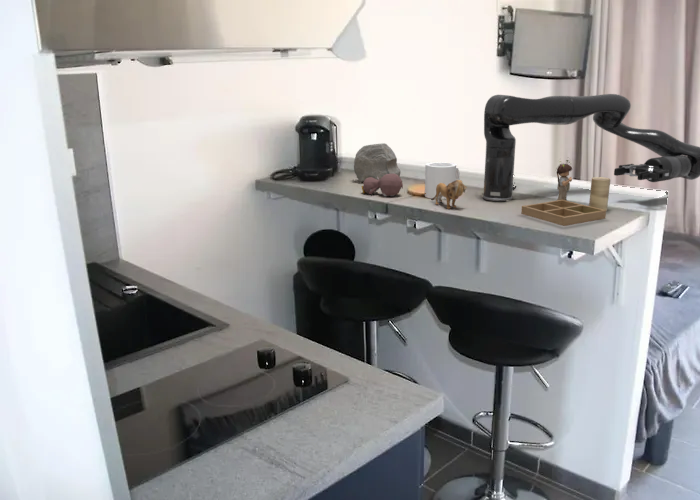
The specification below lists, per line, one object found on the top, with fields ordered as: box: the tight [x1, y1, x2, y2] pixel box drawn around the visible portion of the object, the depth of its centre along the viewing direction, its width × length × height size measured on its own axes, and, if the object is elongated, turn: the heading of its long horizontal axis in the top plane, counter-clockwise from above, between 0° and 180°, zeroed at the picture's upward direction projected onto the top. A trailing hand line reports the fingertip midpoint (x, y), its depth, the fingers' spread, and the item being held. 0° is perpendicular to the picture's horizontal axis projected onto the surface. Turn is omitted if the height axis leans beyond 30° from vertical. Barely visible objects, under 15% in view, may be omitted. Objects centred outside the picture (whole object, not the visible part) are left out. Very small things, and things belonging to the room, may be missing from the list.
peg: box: [588, 176, 611, 212], centre depth 189 cm, size 5×5×10 cm
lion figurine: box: [430, 179, 468, 210], centre depth 199 cm, size 15×5×9 cm, turn 33°
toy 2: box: [554, 157, 573, 201], centre depth 199 cm, size 6×6×15 cm
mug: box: [424, 161, 461, 200], centre depth 213 cm, size 14×10×11 cm
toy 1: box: [361, 173, 404, 198], centre depth 216 cm, size 8×8×15 cm
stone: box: [353, 142, 402, 182], centre depth 234 cm, size 19×7×15 cm, turn 53°
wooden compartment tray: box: [520, 199, 607, 227], centre depth 183 cm, size 16×16×3 cm
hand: (626, 174), depth 192 cm, fingers open, 8 cm apart
